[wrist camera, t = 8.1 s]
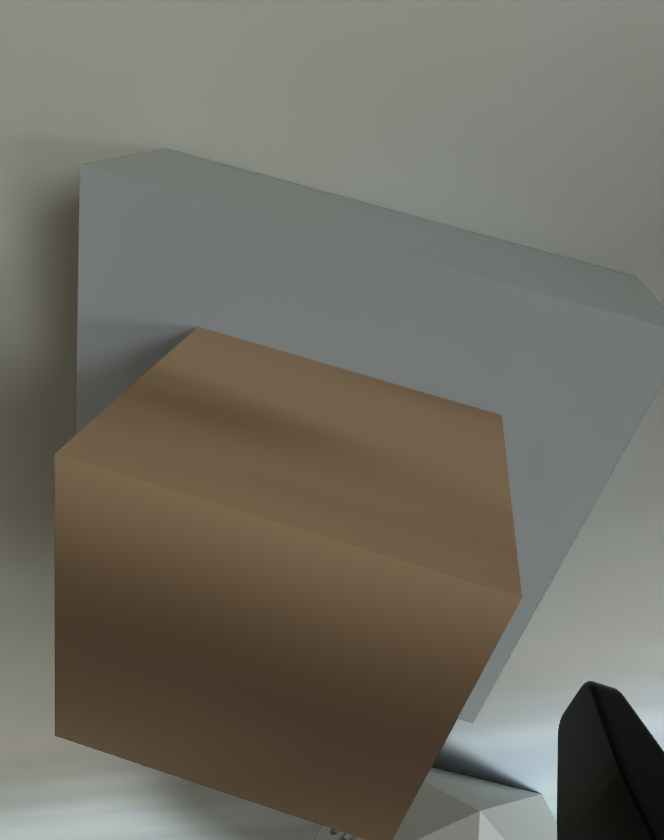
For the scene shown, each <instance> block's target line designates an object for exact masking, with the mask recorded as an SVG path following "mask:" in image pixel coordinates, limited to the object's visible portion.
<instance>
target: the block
mask: <svg viewBox="0 0 664 840" xmlns="http://www.w3.org/2000/svg"><path fill="white" fill-rule="evenodd" d="M521 599H522V593H521V584H520V575H519V566H518V557H517V548H516V539H515V530H514V521H513V512H512V503H511V494H510V485H509V476H508V467H507V458H506V449H505V440H504V431H503V422H502V415H499V414H496V413H493V412H489V411H486V410H482V409H479V408H475V407H472V406H469V405H465V404H462V403H458V402H455V401H452V400H448V399H445V398H441V397H438V396H434V395H431V394H428V393H424V392H421V391H417V390H414V389H410V388H407V387H404V386H400V385H397V384H393V383H390V382H386V381H383V380H380V379H376V378H373V377H369V376H366V375H363V374H359V373H356V372H352V371H349V370H345V369H342V368H339V367H335V366H332V365H328V364H325V363H321V362H318V361H315V360H311V359H308V358H304V357H301V356H298V355H294V354H291V353H287V352H284V351H280V350H277V349H274V348H270V347H267V346H263V345H260V344H256V343H253V342H250V341H246V340H243V339H239V338H236V337H232V336H229V335H226V334H222V333H219V332H215V331H212V330H209V329H205V328H202V327H197V328H196V329H195V330H194V331H193V332H192V333H190V334H189V335H188V336H187V337H186V338H185V339H184V340H182V341H181V342H180V343H179V344H178V345H177V346H176V347H175V348H173V349H172V350H171V351H170V352H169V353H168V354H167V355H166V356H164V357H163V358H162V359H161V360H160V361H159V362H158V363H157V364H155V365H154V366H153V367H152V368H151V369H150V370H149V371H147V372H146V373H145V374H144V375H143V376H142V377H141V378H140V379H138V380H137V381H136V382H135V383H134V384H133V385H132V386H131V387H129V388H128V389H127V390H126V391H125V392H124V393H123V394H122V395H120V396H119V397H118V398H117V399H116V400H115V401H114V402H112V403H111V404H110V405H109V406H108V407H107V408H106V409H105V410H103V411H102V412H101V413H100V414H99V415H98V416H97V417H96V418H94V419H93V420H92V421H91V422H90V423H89V424H88V425H87V426H85V427H84V428H83V429H82V430H81V431H80V432H79V433H77V434H76V435H75V436H74V437H73V438H72V439H71V440H70V441H68V442H67V443H66V444H65V445H64V446H63V447H62V448H61V449H59V450H58V451H57V452H56V453H55V736H58V737H61V738H64V739H67V740H70V741H73V742H76V743H79V744H82V745H85V746H88V747H90V748H93V749H96V750H99V751H102V752H105V753H108V754H111V755H114V756H117V757H120V758H123V759H126V760H129V761H132V762H135V763H138V764H141V765H144V766H147V767H150V768H153V769H156V770H159V771H162V772H165V773H168V774H171V775H174V776H177V777H180V778H183V779H186V780H189V781H192V782H195V783H198V784H201V785H204V786H207V787H210V788H213V789H216V790H219V791H222V792H225V793H228V794H231V795H234V796H237V797H240V798H243V799H246V800H249V801H252V802H255V803H258V804H261V805H264V806H267V807H270V808H273V809H276V810H279V811H282V812H285V813H288V814H291V815H294V816H297V817H299V818H302V819H305V820H308V821H311V822H314V823H317V824H320V825H323V826H326V827H329V828H332V829H335V830H338V831H341V832H344V833H347V834H350V835H353V836H356V837H359V838H362V839H365V840H393V838H394V836H395V834H396V832H397V830H398V829H399V827H400V825H401V823H402V821H403V819H404V817H405V816H406V814H407V812H408V810H409V808H410V806H411V804H412V802H413V801H414V799H415V797H416V795H417V793H418V791H419V789H420V788H421V786H422V784H423V782H424V780H425V778H426V776H427V774H428V773H429V771H430V769H431V767H432V765H433V763H434V761H435V760H436V758H437V756H438V754H439V752H440V750H441V748H442V746H443V745H444V743H445V741H446V739H447V737H448V735H449V733H450V732H451V730H452V728H453V726H454V724H455V722H456V720H457V718H458V717H459V715H460V713H461V711H462V709H463V707H464V705H465V704H466V702H467V700H468V698H469V696H470V694H471V692H472V690H473V689H474V687H475V685H476V683H477V681H478V679H479V677H480V676H481V674H482V672H483V670H484V668H485V666H486V664H487V662H488V661H489V659H490V657H491V655H492V653H493V651H494V649H495V648H496V646H497V644H498V642H499V640H500V638H501V636H502V634H503V633H504V631H505V629H506V627H507V625H508V623H509V621H510V619H511V618H512V616H513V614H514V612H515V610H516V608H517V606H518V605H519V603H520V601H521Z"/></svg>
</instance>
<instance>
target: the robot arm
mask: <svg viewBox="0 0 664 840" xmlns="http://www.w3.org/2000/svg"><path fill="white" fill-rule="evenodd" d="M557 840H664V751H663V750H662V748H661V747H660V746H659V744H658V743H657V741H656V740H655V739H654V737H653V736H652V735H651V733H650V732H649V730H648V729H647V728H646V726H645V725H644V723H643V722H642V721H641V719H640V718H639V717H638V715H637V714H636V712H635V711H634V710H633V708H632V707H631V706H630V704H629V703H628V701H627V700H626V699H625V697H624V696H623V695H622V694H621V693H620V692H619V691H618V690H617V689H615V688H612V687H609V686H606V685H603V684H599V683H596V682H593V681H588V682H586V683H584V684H583V685H582V687H581V688H580V690H579V691H578V693H577V694H576V696H575V697H574V699H573V700H572V702H571V703H570V705H569V706H568V708H567V709H566V711H565V712H564V714H563V715H562V718H561V720H560V724H559V729H558V778H557Z"/></svg>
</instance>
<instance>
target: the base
mask: <svg viewBox="0 0 664 840" xmlns="http://www.w3.org/2000/svg"><path fill="white" fill-rule="evenodd" d="M197 327H202V328H205V329H209V330H212V331H215V332H219V333H222V334H226V335H229V336H232V337H236V338H239V339H243V340H246V341H250V342H253V343H256V344H260V345H263V346H267V347H270V348H274V349H277V350H280V351H284V352H287V353H291V354H294V355H298V356H301V357H304V358H308V359H311V360H315V361H318V362H321V363H325V364H328V365H332V366H335V367H339V368H342V369H345V370H349V371H352V372H356V373H359V374H363V375H366V376H369V377H373V378H376V379H380V380H383V381H386V382H390V383H393V384H397V385H400V386H404V387H407V388H410V389H414V390H417V391H421V392H424V393H428V394H431V395H434V396H438V397H441V398H445V399H448V400H452V401H455V402H458V403H462V404H465V405H469V406H472V407H475V408H479V409H482V410H486V411H489V412H493V413H496V414H499V415H502V422H503V431H504V440H505V449H506V458H507V467H508V476H509V485H510V494H511V503H512V512H513V521H514V530H515V539H516V548H517V557H518V566H519V575H520V584H521V593H522V599H521V601H520V603H519V605H518V606H517V608H516V610H515V612H514V614H513V616H512V618H511V619H510V621H509V623H508V625H507V627H506V629H505V631H504V633H503V634H502V636H501V638H500V640H499V642H498V644H497V646H496V648H495V649H494V651H493V653H492V655H491V657H490V659H489V661H488V662H487V664H486V666H485V668H484V670H483V672H482V674H481V676H480V677H479V679H478V681H477V683H476V685H475V687H474V689H473V690H472V692H471V694H470V696H469V698H468V700H467V702H466V704H465V705H464V707H463V709H462V711H461V713H460V715H459V717H458V719H461V720H464V721H467V722H470V723H473V722H474V720H475V719H476V717H477V715H478V713H479V711H480V710H481V708H482V706H483V704H484V702H485V701H486V699H487V697H488V695H489V693H490V692H491V690H492V688H493V686H494V684H495V682H496V681H497V679H498V677H499V675H500V673H501V672H502V670H503V668H504V666H505V664H506V663H507V661H508V659H509V657H510V655H511V654H512V652H513V650H514V648H515V646H516V645H517V643H518V641H519V639H520V637H521V636H522V634H523V632H524V630H525V628H526V627H527V625H528V623H529V621H530V619H531V618H532V616H533V614H534V612H535V610H536V609H537V607H538V605H539V603H540V601H541V599H542V598H543V596H544V594H545V592H546V590H547V589H548V587H549V585H550V583H551V581H552V580H553V578H554V576H555V574H556V572H557V571H558V569H559V567H560V565H561V563H562V562H563V560H564V558H565V556H566V554H567V553H568V551H569V549H570V547H571V545H572V544H573V542H574V540H575V538H576V536H577V535H578V533H579V531H580V529H581V527H582V525H583V524H584V522H585V520H586V518H587V516H588V515H589V513H590V511H591V509H592V507H593V506H594V504H595V502H596V500H597V498H598V497H599V495H600V493H601V491H602V489H603V488H604V486H605V484H606V482H607V480H608V479H609V477H610V475H611V473H612V471H613V470H614V468H615V466H616V464H617V462H618V461H619V459H620V457H621V455H622V453H623V452H624V450H625V448H626V446H627V444H628V442H629V441H630V439H631V437H632V435H633V433H634V432H635V430H636V428H637V426H638V424H639V423H640V421H641V419H642V417H643V415H644V414H645V412H646V410H647V408H648V406H649V405H650V403H651V401H652V399H653V397H654V396H655V394H656V392H657V390H658V388H659V387H660V385H661V383H662V381H663V379H664V307H663V305H662V304H661V303H660V302H659V301H658V300H657V299H656V298H655V297H654V296H653V295H652V293H651V292H650V291H649V290H648V289H647V288H646V287H645V286H644V285H643V284H642V283H641V281H640V280H639V279H638V278H637V277H634V276H631V275H627V274H623V273H620V272H616V271H612V270H609V269H605V268H601V267H598V266H594V265H590V264H587V263H583V262H579V261H576V260H572V259H568V258H565V257H561V256H557V255H554V254H550V253H546V252H543V251H539V250H535V249H532V248H528V247H524V246H521V245H517V244H513V243H510V242H506V241H502V240H499V239H495V238H491V237H488V236H484V235H480V234H477V233H473V232H469V231H466V230H462V229H459V228H455V227H451V226H448V225H444V224H440V223H437V222H433V221H429V220H426V219H422V218H418V217H415V216H411V215H407V214H404V213H400V212H396V211H393V210H389V209H385V208H382V207H378V206H374V205H371V204H367V203H363V202H360V201H356V200H352V199H349V198H345V197H341V196H338V195H334V194H330V193H327V192H323V191H319V190H316V189H312V188H308V187H305V186H301V185H297V184H294V183H290V182H286V181H283V180H279V179H275V178H272V177H268V176H264V175H261V174H257V173H253V172H250V171H246V170H242V169H239V168H235V167H231V166H228V165H224V164H220V163H217V162H213V161H209V160H206V159H202V158H198V157H195V156H191V155H188V154H184V153H180V152H177V151H173V150H169V149H161V150H156V151H151V152H146V153H141V154H136V155H130V156H125V157H120V158H115V159H110V160H105V161H100V162H95V163H90V164H85V165H80V185H79V248H78V311H77V374H76V434H77V433H79V432H80V431H81V430H82V429H83V428H84V427H85V426H87V425H88V424H89V423H90V422H91V421H92V420H93V419H94V418H96V417H97V416H98V415H99V414H100V413H101V412H102V411H103V410H105V409H106V408H107V407H108V406H109V405H110V404H111V403H112V402H114V401H115V400H116V399H117V398H118V397H119V396H120V395H122V394H123V393H124V392H125V391H126V390H127V389H128V388H129V387H131V386H132V385H133V384H134V383H135V382H136V381H137V380H138V379H140V378H141V377H142V376H143V375H144V374H145V373H146V372H147V371H149V370H150V369H151V368H152V367H153V366H154V365H155V364H157V363H158V362H159V361H160V360H161V359H162V358H163V357H164V356H166V355H167V354H168V353H169V352H170V351H171V350H172V349H173V348H175V347H176V346H177V345H178V344H179V343H180V342H181V341H182V340H184V339H185V338H186V337H187V336H188V335H189V334H190V333H192V332H193V331H194V330H195V329H196V328H197Z"/></svg>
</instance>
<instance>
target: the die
mask: <svg viewBox="0 0 664 840" xmlns="http://www.w3.org/2000/svg"><path fill="white" fill-rule="evenodd" d="M314 840H365V839H362V838H359V837H356V836H353V835H350V834H347V833H344V832H341V831H338V830H335V829H332V828H329V827H326V826H323V825H322V827H321V829H320V830H319V832H318V834H317V835H316V837H315V839H314ZM393 840H557V822H556V821H555V819H554V817H553V815H552V813H551V811H550V809H549V807H548V805H547V803H546V801H545V799H544V797H543V795H542V794H540V793H536V792H532V791H527V790H523V789H519V788H515V787H511V786H507V785H503V784H499V783H495V782H491V781H487V780H483V779H478V778H474V777H470V776H466V775H462V774H458V773H454V772H450V771H446V770H442V769H438V768H433V767H431V769H430V771H429V773H428V774H427V776H426V778H425V780H424V782H423V784H422V786H421V788H420V789H419V791H418V793H417V795H416V797H415V799H414V801H413V802H412V804H411V806H410V808H409V810H408V812H407V814H406V816H405V817H404V819H403V821H402V823H401V825H400V827H399V829H398V830H397V832H396V834H395V836H394V838H393Z"/></svg>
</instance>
